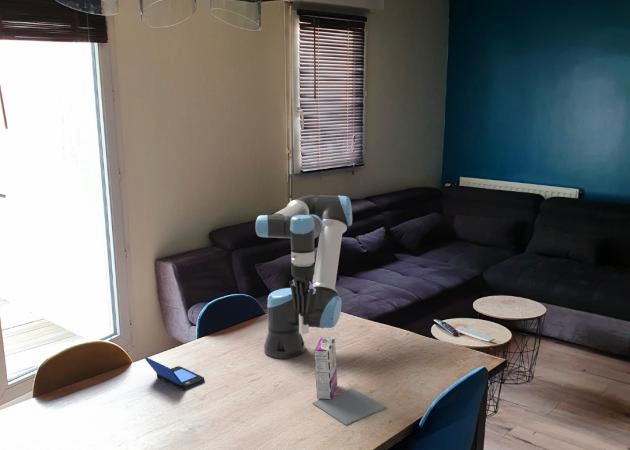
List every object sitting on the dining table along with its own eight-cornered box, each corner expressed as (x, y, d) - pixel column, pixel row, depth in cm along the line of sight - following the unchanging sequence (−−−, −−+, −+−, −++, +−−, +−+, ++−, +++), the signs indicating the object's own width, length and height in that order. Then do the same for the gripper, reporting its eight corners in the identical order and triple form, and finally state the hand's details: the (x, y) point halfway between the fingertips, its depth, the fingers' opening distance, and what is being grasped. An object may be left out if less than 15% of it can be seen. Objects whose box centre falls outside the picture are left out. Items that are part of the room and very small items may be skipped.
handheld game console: (206, 382, 204) (204, 356, 202) (172, 396, 194) (170, 369, 192) (178, 368, 214) (177, 344, 212) (145, 381, 205) (143, 356, 203)
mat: (312, 403, 188) (312, 402, 188) (352, 388, 197) (352, 387, 197) (345, 425, 175) (345, 424, 175) (386, 408, 185) (386, 407, 185)
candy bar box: (322, 384, 201) (320, 336, 198) (337, 384, 200) (335, 337, 197) (315, 399, 190) (313, 349, 187) (331, 400, 189) (329, 349, 186)
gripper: (281, 261, 199) (283, 329, 203) (305, 269, 189) (306, 341, 193) (300, 257, 203) (301, 324, 208) (324, 265, 193) (325, 336, 198)
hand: (303, 332), depth 200 cm, fingers closed
